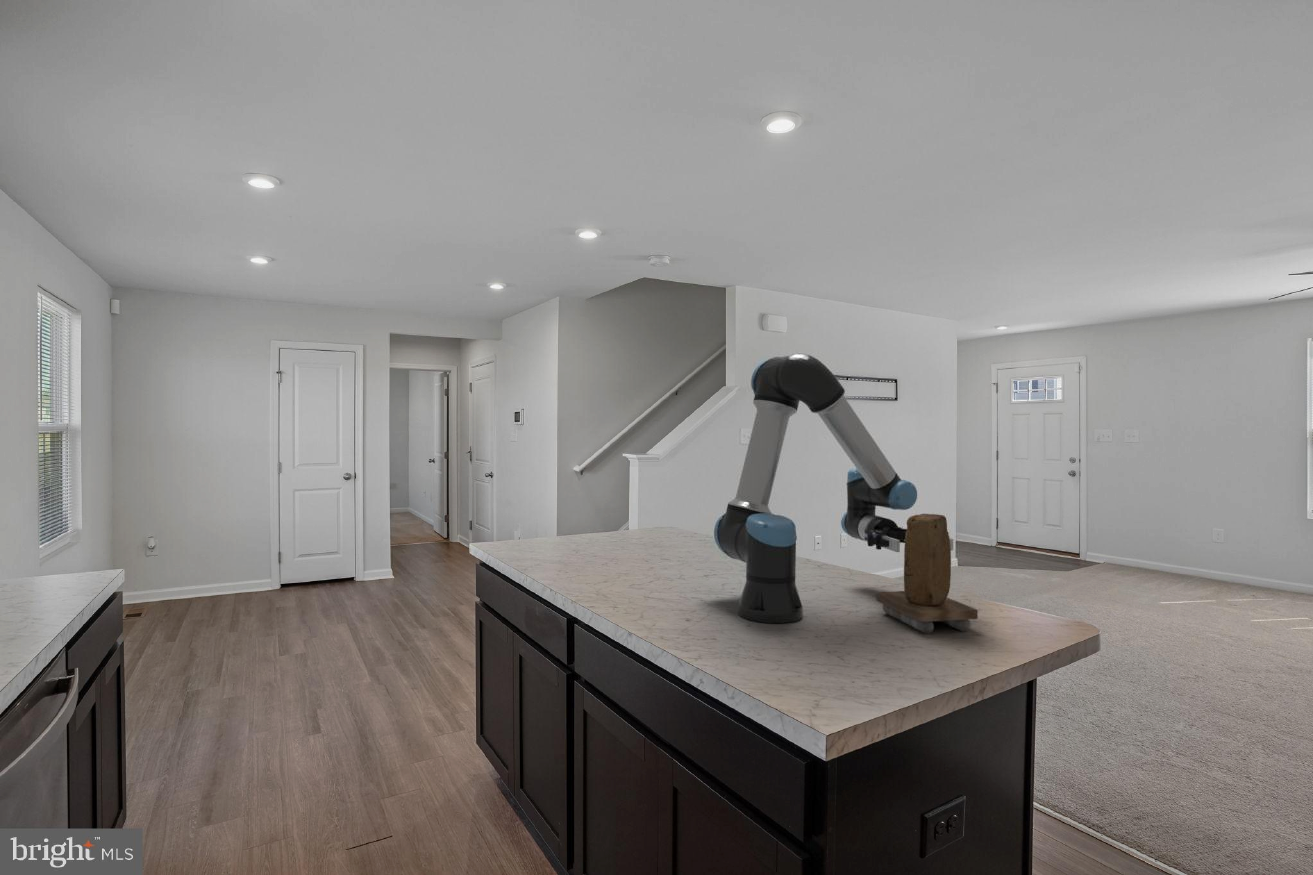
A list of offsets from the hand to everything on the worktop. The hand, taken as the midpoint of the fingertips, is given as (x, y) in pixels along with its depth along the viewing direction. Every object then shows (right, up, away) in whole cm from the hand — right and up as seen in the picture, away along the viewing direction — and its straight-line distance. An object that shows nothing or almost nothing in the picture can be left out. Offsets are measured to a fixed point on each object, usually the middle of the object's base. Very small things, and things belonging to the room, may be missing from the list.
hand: (925, 545), depth 155 cm
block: (0, -13, -1) cm, 13 cm away
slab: (0, -18, 0) cm, 18 cm away
